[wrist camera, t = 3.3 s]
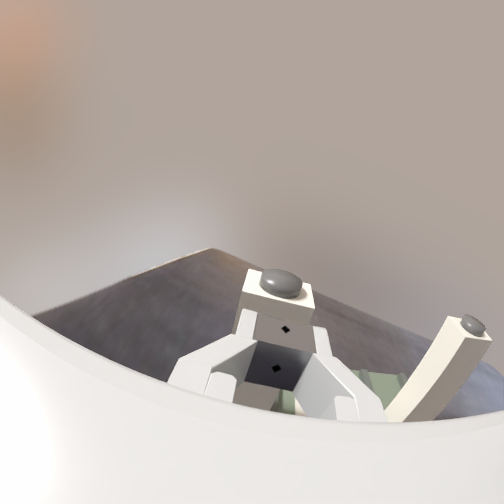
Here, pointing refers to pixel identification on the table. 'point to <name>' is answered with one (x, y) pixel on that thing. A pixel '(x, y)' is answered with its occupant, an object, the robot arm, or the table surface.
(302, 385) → the robot arm
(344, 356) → the table surface
